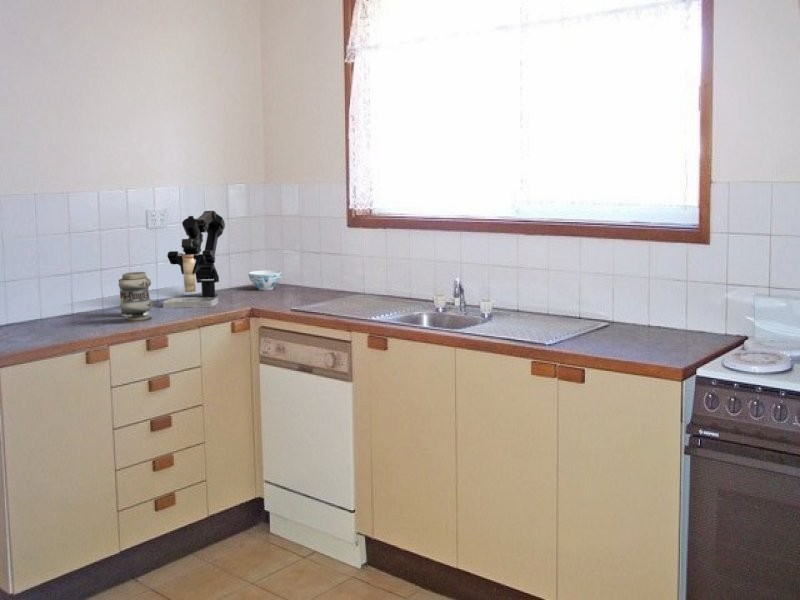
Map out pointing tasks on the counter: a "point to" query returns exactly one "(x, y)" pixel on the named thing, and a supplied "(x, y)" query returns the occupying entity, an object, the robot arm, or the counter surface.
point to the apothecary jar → (136, 296)
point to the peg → (189, 273)
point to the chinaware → (265, 278)
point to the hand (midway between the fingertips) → (188, 273)
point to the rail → (190, 302)
